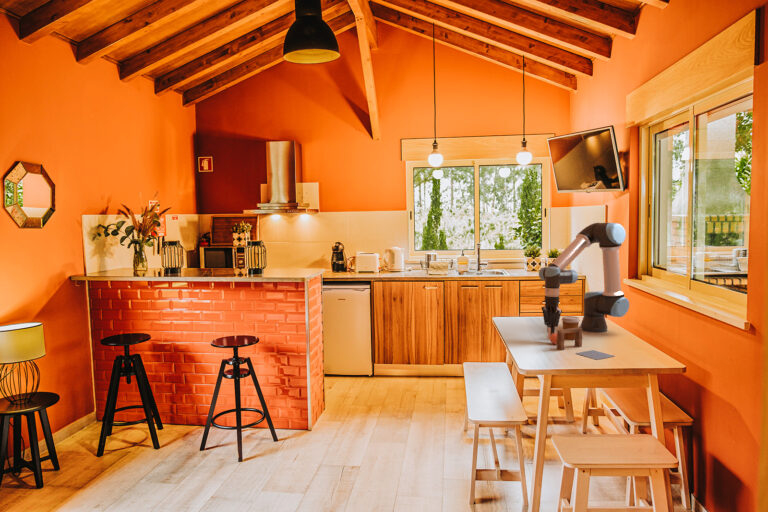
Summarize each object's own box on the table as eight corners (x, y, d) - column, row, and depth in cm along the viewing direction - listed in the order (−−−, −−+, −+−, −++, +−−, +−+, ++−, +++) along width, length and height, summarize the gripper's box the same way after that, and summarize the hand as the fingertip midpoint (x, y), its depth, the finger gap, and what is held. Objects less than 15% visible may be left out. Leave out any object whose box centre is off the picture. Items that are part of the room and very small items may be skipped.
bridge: (556, 348, 266) (557, 330, 266) (577, 345, 274) (577, 327, 273) (561, 350, 264) (561, 331, 263) (581, 346, 271) (582, 328, 270)
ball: (560, 330, 277) (565, 340, 273) (554, 336, 281) (559, 345, 278) (551, 331, 275) (556, 341, 271) (546, 337, 279) (550, 346, 275)
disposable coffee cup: (580, 341, 283) (581, 319, 282) (562, 340, 285) (562, 318, 284) (577, 337, 292) (578, 316, 291) (560, 336, 294) (560, 315, 293)
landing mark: (593, 350, 263) (593, 350, 263) (615, 356, 252) (615, 356, 252) (575, 353, 257) (575, 353, 257) (596, 359, 246) (596, 359, 246)
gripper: (537, 294, 282) (536, 337, 284) (555, 297, 270) (554, 342, 272) (548, 293, 285) (547, 335, 287) (566, 296, 274) (565, 340, 276)
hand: (550, 338), depth 280 cm, fingers closed
